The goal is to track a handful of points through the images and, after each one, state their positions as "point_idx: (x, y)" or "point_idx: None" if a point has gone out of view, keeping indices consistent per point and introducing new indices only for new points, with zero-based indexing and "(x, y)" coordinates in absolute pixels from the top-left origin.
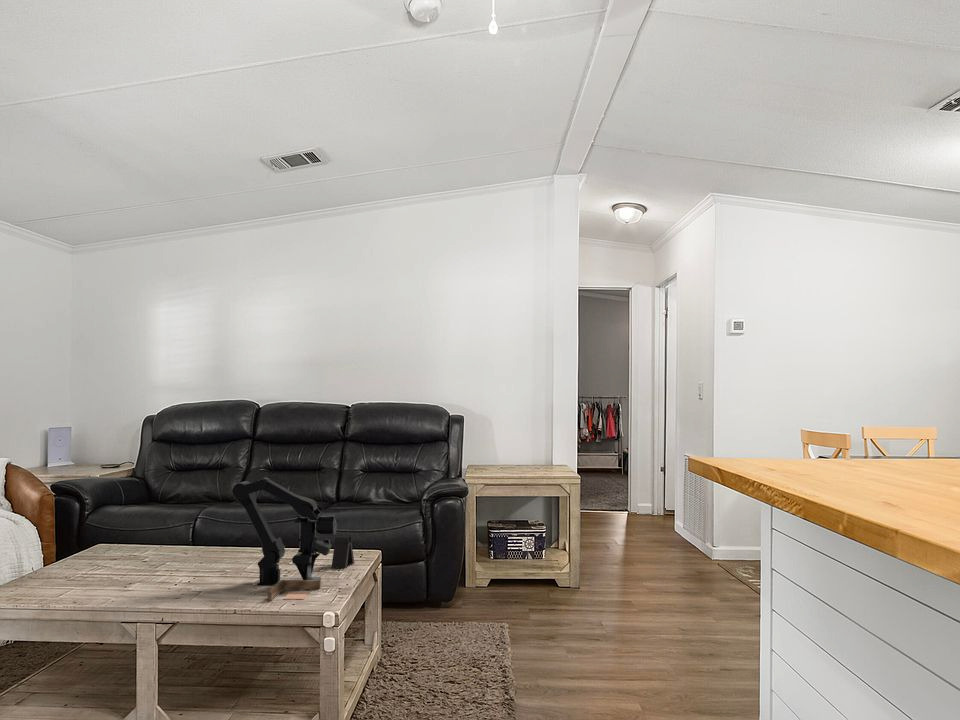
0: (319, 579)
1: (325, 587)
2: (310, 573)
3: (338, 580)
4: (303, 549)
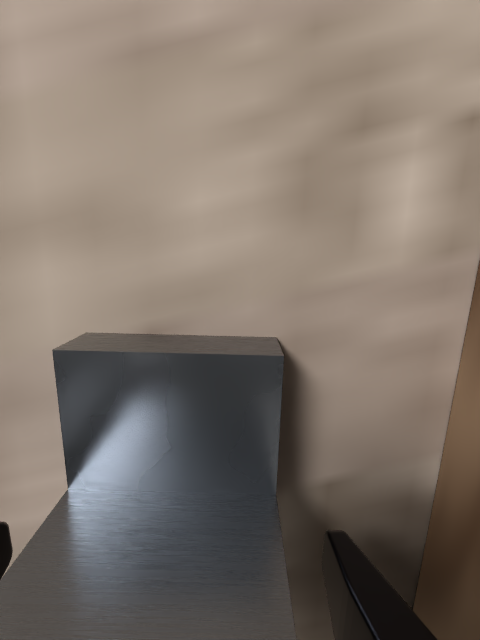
0: (144, 345)
1: (427, 181)
2: (90, 554)
3: (37, 40)
4: None
